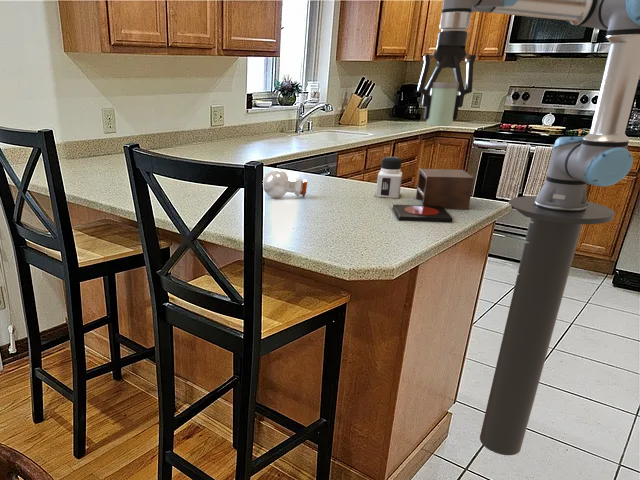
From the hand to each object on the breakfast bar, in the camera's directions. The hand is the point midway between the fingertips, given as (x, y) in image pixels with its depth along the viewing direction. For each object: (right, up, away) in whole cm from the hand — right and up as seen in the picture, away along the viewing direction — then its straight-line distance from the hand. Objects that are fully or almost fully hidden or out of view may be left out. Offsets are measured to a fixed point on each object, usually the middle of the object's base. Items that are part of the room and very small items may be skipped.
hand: (439, 119), depth 152 cm
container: (-6, -16, +32) cm, 36 cm away
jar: (0, -1, +1) cm, 2 cm away
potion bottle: (-43, -17, +29) cm, 55 cm away
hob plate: (-3, -27, +7) cm, 28 cm away
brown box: (+8, -21, +21) cm, 30 cm away
